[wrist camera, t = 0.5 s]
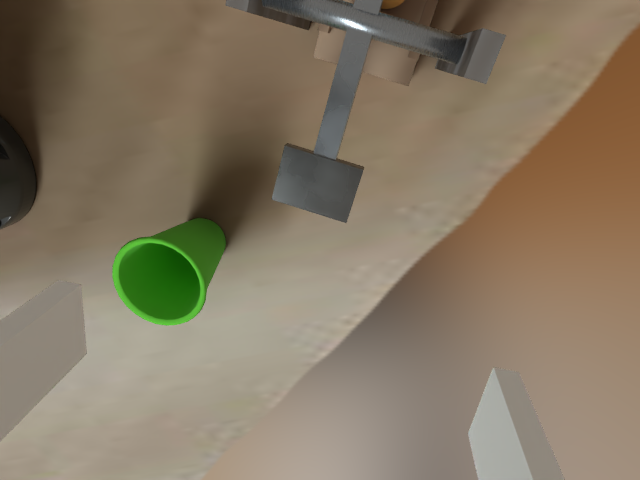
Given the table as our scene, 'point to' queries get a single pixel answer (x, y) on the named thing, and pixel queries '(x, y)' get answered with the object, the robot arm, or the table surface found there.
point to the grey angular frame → (390, 58)
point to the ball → (391, 3)
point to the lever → (346, 98)
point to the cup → (169, 271)
